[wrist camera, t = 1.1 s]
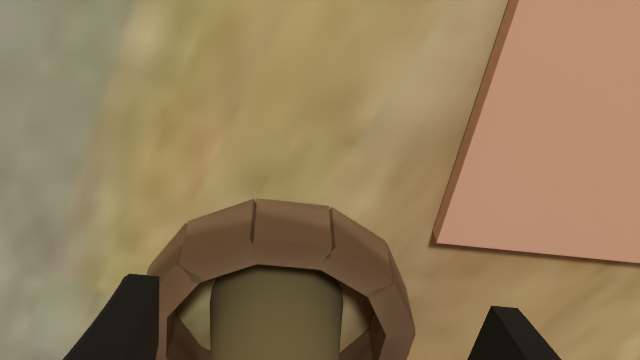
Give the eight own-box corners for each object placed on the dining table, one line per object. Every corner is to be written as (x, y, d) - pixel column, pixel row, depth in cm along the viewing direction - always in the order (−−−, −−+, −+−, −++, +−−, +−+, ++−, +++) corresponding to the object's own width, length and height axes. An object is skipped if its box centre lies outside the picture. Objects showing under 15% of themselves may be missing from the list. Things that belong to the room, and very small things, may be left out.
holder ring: (374, 390, 31) (379, 434, 29) (149, 375, 30) (138, 420, 28) (430, 216, 25) (442, 256, 23) (148, 187, 23) (134, 227, 21)
